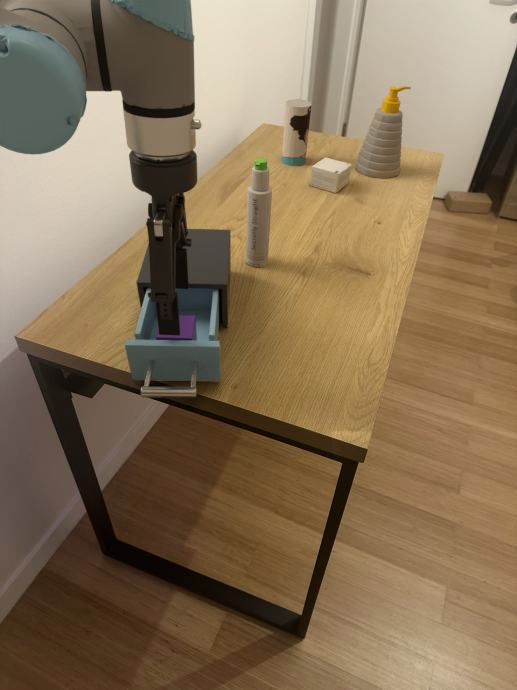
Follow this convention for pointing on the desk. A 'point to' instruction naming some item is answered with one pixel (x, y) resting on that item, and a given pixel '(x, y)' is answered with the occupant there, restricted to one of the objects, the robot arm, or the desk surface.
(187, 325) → the purple cube
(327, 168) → the small box
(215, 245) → the grey square box housing
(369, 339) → the desk surface
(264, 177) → the bottle
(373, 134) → the soap bottle
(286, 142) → the cup
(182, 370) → the drawer
